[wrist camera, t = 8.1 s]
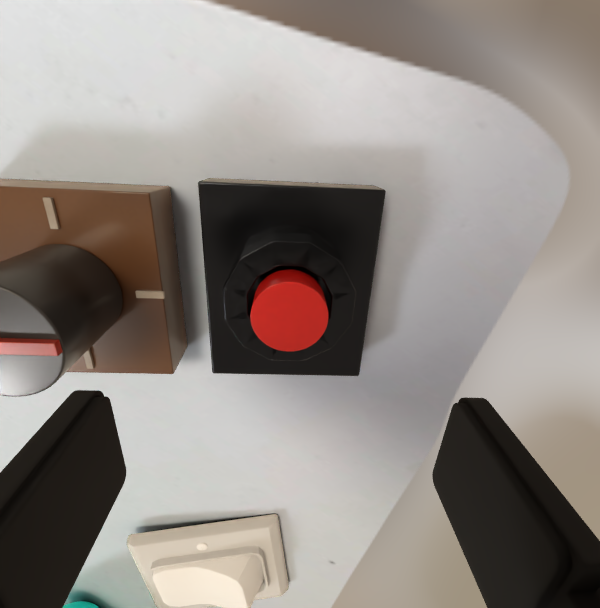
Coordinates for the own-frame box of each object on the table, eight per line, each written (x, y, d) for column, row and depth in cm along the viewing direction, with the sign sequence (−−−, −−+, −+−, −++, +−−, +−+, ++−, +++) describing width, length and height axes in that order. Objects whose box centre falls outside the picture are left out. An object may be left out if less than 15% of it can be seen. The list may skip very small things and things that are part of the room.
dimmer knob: (34, 333, 18) (-60, 401, 13) (5, 241, 16) (-119, 280, 11) (130, 336, 18) (73, 403, 13) (114, 245, 16) (40, 286, 11)
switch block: (207, 177, 18) (187, 184, 14) (375, 185, 18) (397, 194, 15) (218, 353, 22) (205, 393, 19) (353, 356, 23) (365, 395, 19)
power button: (253, 267, 16) (249, 280, 15) (327, 270, 16) (331, 283, 15) (254, 332, 18) (250, 351, 16) (322, 334, 18) (325, 352, 16)
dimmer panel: (-8, 178, 17) (-66, 183, 15) (172, 186, 18) (150, 193, 15) (44, 343, 22) (7, 372, 19) (189, 346, 22) (174, 376, 19)
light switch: (290, 626, 31) (148, 649, 30) (288, 575, 34) (161, 594, 34) (278, 556, 26) (110, 581, 26) (277, 505, 30) (130, 526, 29)
